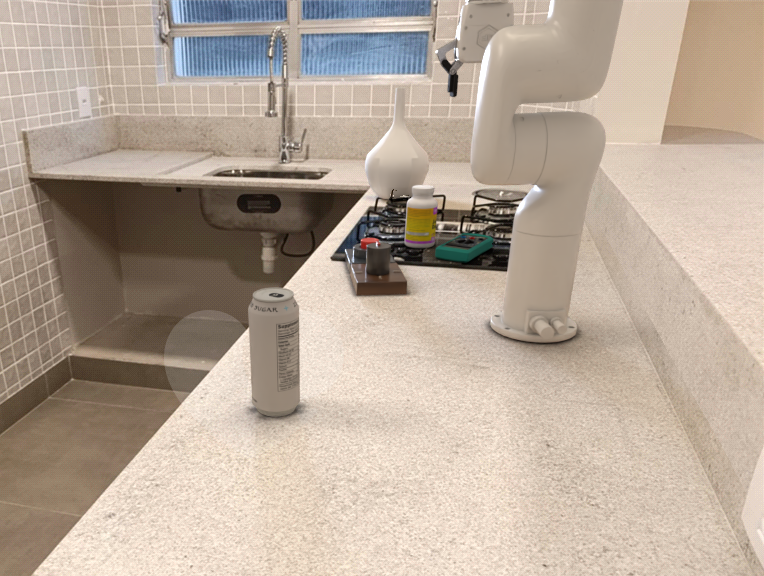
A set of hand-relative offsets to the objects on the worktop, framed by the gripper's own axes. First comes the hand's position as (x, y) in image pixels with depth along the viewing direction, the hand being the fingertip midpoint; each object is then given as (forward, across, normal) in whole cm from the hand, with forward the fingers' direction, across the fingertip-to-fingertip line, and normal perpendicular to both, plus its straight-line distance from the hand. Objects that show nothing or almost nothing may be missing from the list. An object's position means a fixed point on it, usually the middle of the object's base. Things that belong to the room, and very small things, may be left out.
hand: (477, 95), depth 136 cm
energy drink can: (+31, -40, -70) cm, 87 cm away
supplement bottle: (+31, -8, +7) cm, 33 cm away
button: (+28, -21, -8) cm, 36 cm away
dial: (+29, -21, -21) cm, 41 cm away
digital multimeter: (+31, 0, -1) cm, 31 cm away
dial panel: (+31, -21, -21) cm, 43 cm away
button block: (+31, -21, -8) cm, 38 cm away
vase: (+31, -5, +63) cm, 71 cm away
